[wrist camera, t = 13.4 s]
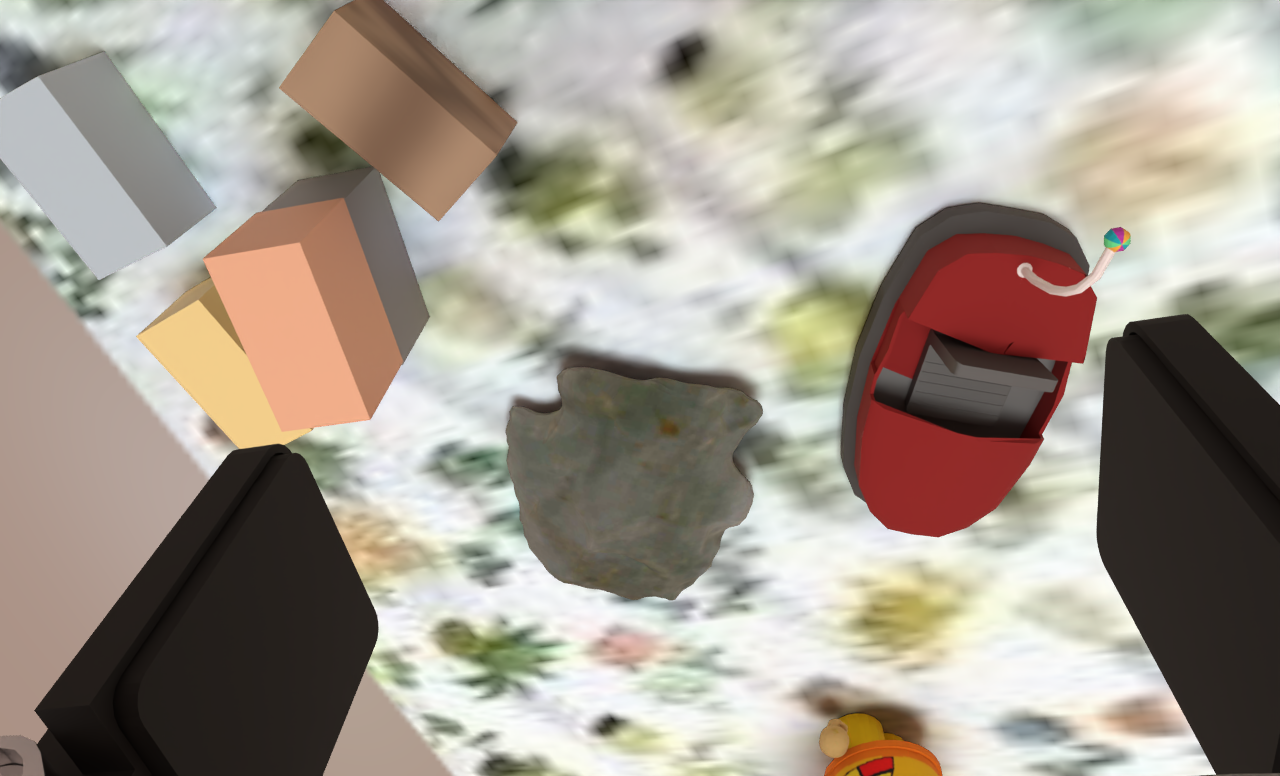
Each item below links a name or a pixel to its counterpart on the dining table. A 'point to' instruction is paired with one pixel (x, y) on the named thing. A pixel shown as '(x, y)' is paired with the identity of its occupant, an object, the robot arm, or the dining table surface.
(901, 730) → the dining table surface
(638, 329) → the dining table surface
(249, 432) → the ochre brick
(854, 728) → the toy
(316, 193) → the charcoal brick
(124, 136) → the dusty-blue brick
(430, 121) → the walnut brick
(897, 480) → the bumper car
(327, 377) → the terracotta brick
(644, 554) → the artifact
